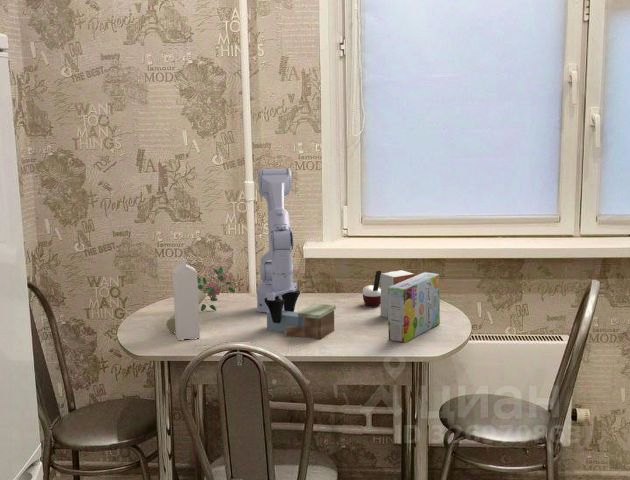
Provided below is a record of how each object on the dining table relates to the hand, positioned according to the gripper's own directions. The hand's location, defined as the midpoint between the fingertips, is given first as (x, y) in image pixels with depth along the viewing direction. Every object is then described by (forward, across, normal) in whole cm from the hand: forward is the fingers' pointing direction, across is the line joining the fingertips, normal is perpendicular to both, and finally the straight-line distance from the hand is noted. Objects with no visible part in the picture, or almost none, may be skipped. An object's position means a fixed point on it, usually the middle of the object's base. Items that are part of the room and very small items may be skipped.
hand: (283, 319), depth 225 cm
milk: (+3, -17, +21) cm, 27 cm away
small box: (+3, +26, -25) cm, 36 cm away
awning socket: (+3, 0, -9) cm, 9 cm away
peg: (+3, 0, -1) cm, 3 cm away
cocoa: (+3, +34, -14) cm, 37 cm away
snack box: (+3, +12, -35) cm, 37 cm away
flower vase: (+3, +1, +30) cm, 30 cm away
